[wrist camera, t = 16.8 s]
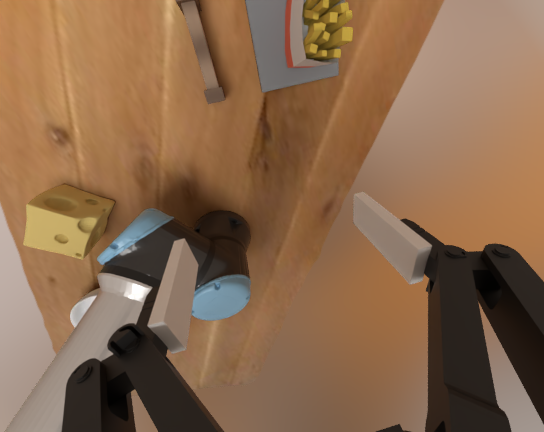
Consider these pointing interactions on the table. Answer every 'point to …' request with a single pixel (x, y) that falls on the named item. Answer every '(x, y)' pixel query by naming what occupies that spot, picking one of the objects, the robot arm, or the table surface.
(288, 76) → the slate mat
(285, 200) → the table surface
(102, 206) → the cheese
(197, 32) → the walnut fence
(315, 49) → the french fries container
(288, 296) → the table surface
